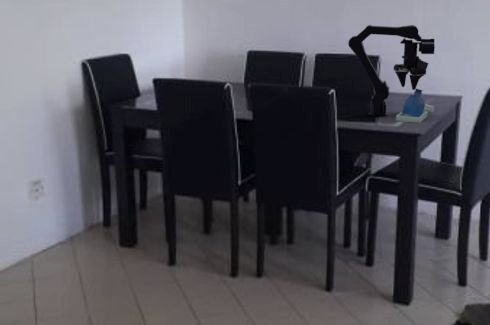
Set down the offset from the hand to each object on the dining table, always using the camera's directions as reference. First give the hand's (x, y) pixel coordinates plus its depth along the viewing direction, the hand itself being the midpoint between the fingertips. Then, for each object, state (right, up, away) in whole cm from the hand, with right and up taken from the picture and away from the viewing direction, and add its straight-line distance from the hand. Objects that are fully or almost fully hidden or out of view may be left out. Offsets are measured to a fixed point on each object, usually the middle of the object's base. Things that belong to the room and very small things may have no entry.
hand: (408, 88), depth 297 cm
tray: (+1, -14, -2) cm, 14 cm away
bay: (+9, -9, +14) cm, 19 cm away
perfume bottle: (+1, -13, -2) cm, 13 cm away
